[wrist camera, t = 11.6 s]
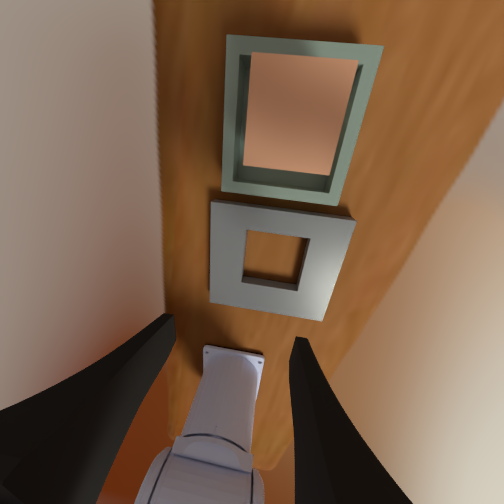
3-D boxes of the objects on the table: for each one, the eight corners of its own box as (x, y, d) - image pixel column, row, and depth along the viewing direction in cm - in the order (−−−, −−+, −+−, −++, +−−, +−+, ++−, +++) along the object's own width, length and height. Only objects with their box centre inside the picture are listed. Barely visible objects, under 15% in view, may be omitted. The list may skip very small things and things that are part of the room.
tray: (329, 199, 17) (337, 206, 14) (228, 186, 17) (221, 191, 15) (365, 65, 13) (384, 45, 11) (235, 55, 13) (226, 34, 11)
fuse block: (309, 168, 15) (329, 175, 9) (257, 162, 16) (243, 165, 9) (322, 105, 14) (358, 60, 7) (264, 99, 14) (251, 52, 8)
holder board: (319, 313, 22) (322, 321, 21) (212, 295, 23) (209, 302, 21) (351, 217, 17) (356, 221, 16) (215, 199, 18) (211, 201, 17)
